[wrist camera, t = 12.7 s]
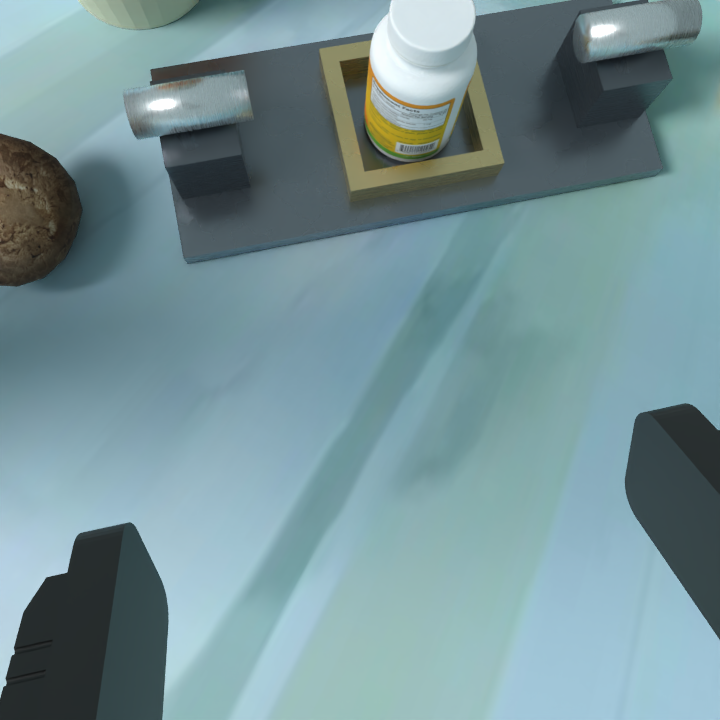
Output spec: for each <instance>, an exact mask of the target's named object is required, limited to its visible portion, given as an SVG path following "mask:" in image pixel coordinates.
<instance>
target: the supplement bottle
mask: <svg viewBox="0 0 720 720" xmlns="http://www.w3.org/2000/svg"><path fill="white" fill-rule="evenodd" d="M475 20H476V10H475V5H474V2H473V0H392V1H391V4H390V10H389V13H388V14H387V15H386V16H385V17H384V18H383V19H382V20H381V21H380V23H379V24H378V26H377V27H376V29H375V31H374V34H373V37H372V41H371V47H370V54H369V66H368V77H367V88H366V99H365V110H364V122H365V128H366V131H367V134H368V136H369V138H370V140H371V141H372V143H373V144H374V145H375V147H376V148H377V149H378V150H379V151H380V152H382V153H383V154H385V155H386V156H388V157H390V158H392V159H395V160H398V161H404V162H418V161H423V160H426V159H429V158H431V157H433V156H434V155H436V154H437V153H438V152H440V151H441V150H442V149H443V148H444V147H445V145H446V144H447V142H448V141H449V139H450V137H451V135H452V132H453V130H454V127H455V124H456V121H457V118H458V115H459V112H460V110H461V107H462V104H463V101H464V98H465V95H466V93H467V90H468V87H469V84H470V82H471V79H472V76H473V73H474V70H475V66H476V61H477V44H476V40H475V36H474V34H473V29H474V25H475Z"/></svg>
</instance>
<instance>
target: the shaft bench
mask: <svg viewBox="0 0 720 720" xmlns="http://www.w3.org/2000/svg"><path fill="white" fill-rule="evenodd" d="M701 24H702V9H701V5H700V3H699V1H698V0H662V1H656V2H650V3H649V2H648V0H639V1H633V2H626V3H620V4H614V5H613V4H612V0H571V1H565V2H559V3H553V4H546V5H540V6H534V7H528V8H522V9H516V10H510V11H504V12H498V13H492V14H486V15H479V16H476V20H475V25H474V29H473V34H474V36H475V40H476V44H477V61H476V66H475V70H474V73H473V76H472V79H471V82H470V84H469V87H468V90H467V93H466V95H465V98H464V101H463V104H462V107H461V110H460V112H459V115H458V118H457V121H456V124H455V127H454V130H453V132H452V135H451V137H450V139H449V141H448V142H447V144H446V145H445V147H444V148H443V149H442V150H441V151H440V152H438V153H437V154H436V155H434V156H433V157H431V158H429V159H426V160H423V161H418V162H404V161H398V160H395V159H392V158H390V157H388V156H386V155H385V154H383V153H382V152H380V151H379V150H378V149H377V148H376V147H375V145H374V144H373V143H372V141H371V140H370V138H369V136H368V134H367V131H366V128H365V122H364V110H365V99H366V88H367V77H368V66H369V54H370V47H371V41H372V37H373V34H374V33H370V34H364V35H358V36H352V37H345V38H339V39H333V40H327V41H321V42H315V43H309V44H303V45H297V46H291V47H285V48H278V49H272V50H266V51H260V52H254V53H248V54H242V55H236V56H230V57H224V58H218V59H211V60H205V61H199V62H193V63H187V64H181V65H175V66H169V67H163V68H157V69H151V76H152V81H150V85H151V86H145V87H139V88H133V89H127V90H124V91H123V97H124V103H125V108H126V113H127V116H128V120H129V123H130V126H131V129H132V131H133V133H134V135H135V137H136V139H137V140H140V139H146V138H152V137H158V136H160V141H161V147H162V153H163V158H164V164H165V168H166V170H167V172H168V174H169V177H170V183H171V189H172V194H173V200H174V206H175V211H176V217H177V223H178V228H179V234H180V240H181V245H182V251H183V256H184V259H185V261H186V262H187V264H189V263H194V262H199V261H205V260H210V259H215V258H221V257H226V256H231V255H237V254H242V253H247V252H253V251H258V250H263V249H269V248H274V247H279V246H284V245H290V244H295V243H300V242H306V241H311V240H316V239H322V238H327V237H332V236H338V235H343V234H348V233H354V232H359V231H364V230H370V229H375V228H380V227H386V226H391V225H396V224H402V223H407V222H412V221H417V220H423V219H428V218H433V217H439V216H444V215H449V214H455V213H460V212H465V211H471V210H476V209H481V208H487V207H492V206H497V205H503V204H508V203H513V202H519V201H524V200H529V199H534V198H540V197H545V196H550V195H556V194H561V193H566V192H572V191H577V190H582V189H588V188H593V187H598V186H604V185H609V184H614V183H620V182H625V181H630V180H636V179H641V178H646V177H652V176H655V175H656V174H658V173H659V172H660V171H661V170H662V169H663V167H662V163H661V160H660V157H659V154H658V150H657V147H656V144H655V141H654V137H653V134H652V131H651V128H650V124H649V121H648V118H647V114H646V111H645V110H646V109H647V108H648V107H649V105H650V104H651V103H652V102H653V101H654V100H655V98H656V97H657V96H658V95H659V94H660V93H661V92H662V90H663V89H664V88H665V87H666V86H667V85H668V83H669V82H670V81H671V80H672V79H673V78H672V75H671V72H670V69H669V65H668V62H667V59H666V56H665V53H664V50H663V49H668V48H674V47H680V46H686V45H690V44H692V43H693V42H694V41H695V40H696V38H697V36H698V34H699V32H700V29H701Z"/></svg>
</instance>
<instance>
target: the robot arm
mask: <svg viewBox="0 0 720 720" xmlns="http://www.w3.org/2000/svg"><path fill="white" fill-rule="evenodd" d="M625 489H626V494H627V498H628V501H629V504H630V507H631V509H632V511H633V513H634V515H635V516H636V518H637V520H638V521H639V523H640V524H641V525H642V527H643V528H644V530H645V531H646V533H647V534H648V536H649V537H650V539H651V540H652V541H653V543H654V544H655V546H656V547H657V549H658V550H659V552H660V553H661V555H662V556H663V558H664V559H665V560H666V562H667V563H668V565H669V566H670V568H671V569H672V571H673V572H674V574H675V575H676V576H677V578H678V579H679V581H680V582H681V584H682V585H683V587H684V588H685V590H686V591H687V593H688V594H689V595H690V597H691V598H692V600H693V601H694V603H695V604H696V606H697V607H698V609H699V610H700V611H701V613H702V614H703V616H704V617H705V619H706V620H707V622H708V623H709V625H710V626H711V627H712V629H713V630H714V632H715V633H716V635H717V636H718V638H719V639H720V430H717V429H716V428H715V427H714V426H713V425H712V424H711V423H710V422H709V421H708V419H707V418H706V417H705V416H704V415H703V414H702V413H701V412H700V411H699V410H698V409H697V408H696V407H694V406H693V405H690V404H686V403H685V404H680V405H676V406H671V407H666V408H662V409H657V410H653V411H648V412H643V413H640V414H639V415H638V416H637V417H636V419H635V423H634V429H633V435H632V441H631V446H630V452H629V458H628V464H627V470H626V476H625ZM167 636H168V605H167V598H166V593H165V589H164V586H163V583H162V581H161V578H160V576H159V574H158V572H157V570H156V568H155V566H154V564H153V562H152V560H151V558H150V556H149V553H148V551H147V549H146V547H145V545H144V543H143V541H142V539H141V537H140V535H139V533H138V531H137V529H136V527H135V526H134V524H132V523H130V522H129V523H125V524H120V525H115V526H111V527H106V528H102V529H97V530H92V531H88V532H83V533H80V534H78V536H77V537H76V539H75V541H74V545H73V549H72V554H71V559H70V563H69V568H68V572H67V573H64V574H60V575H55V576H51V577H47V578H46V579H45V581H44V582H43V584H42V585H41V587H40V588H39V590H38V591H37V593H36V594H35V596H34V597H33V599H32V600H31V602H30V603H29V605H28V606H27V608H26V609H25V611H24V612H23V616H22V620H21V624H20V627H19V631H18V635H17V639H16V642H15V646H14V650H15V654H14V655H12V657H11V661H10V665H9V668H8V672H7V676H6V681H7V684H6V686H4V687H3V691H2V694H1V698H0V720H162V714H163V699H164V683H165V667H166V652H167Z"/></svg>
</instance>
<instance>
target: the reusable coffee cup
mask: <svg viewBox="0 0 720 720" xmlns="http://www.w3.org/2000/svg"><path fill="white" fill-rule="evenodd" d="M78 1H79V2H80V3H81V5H82V6H83V7H84V8H85V9H86V10H87V11H88V12H89V13H91V14H92V15H93V16H94V17H96V18H97V19H99V20H101V21H103V22H105V23H107V24H109V25H113V26H116V27H120V28H123V29H133V30H142V29H152V28H156V27H160V26H164V25H167V24H169V23H171V22H173V21H176V20H178V19H179V18H181V17H182V16H184V15H185V14H186V13H188V12H189V11H190V10H191V9H192V8H193V7H194V6H195V5H196V4H197V3H198V2H199V0H78Z"/></svg>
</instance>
